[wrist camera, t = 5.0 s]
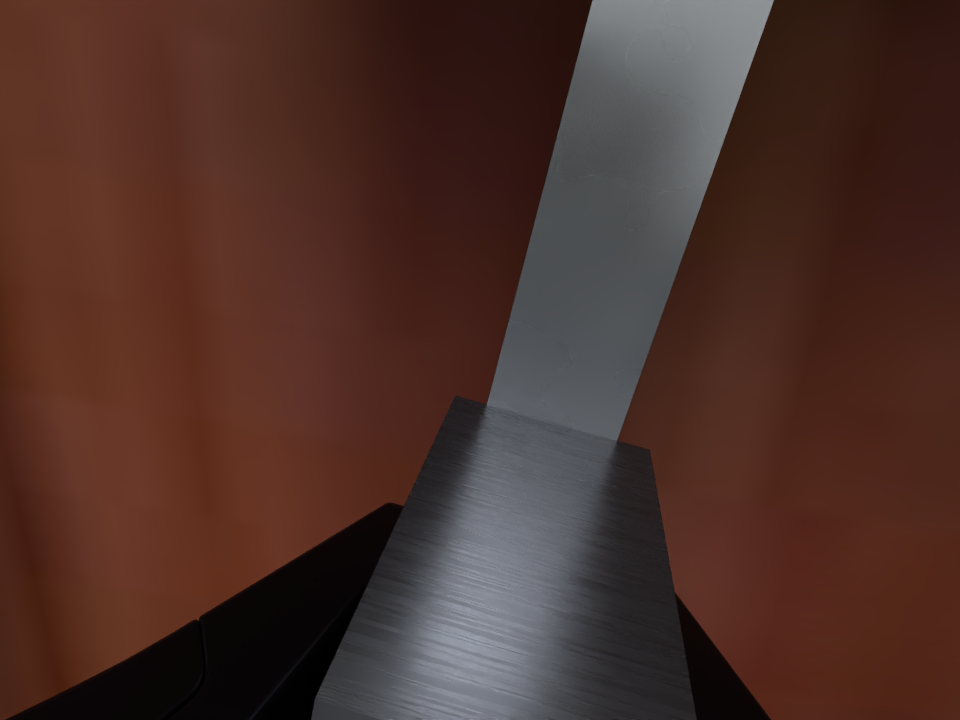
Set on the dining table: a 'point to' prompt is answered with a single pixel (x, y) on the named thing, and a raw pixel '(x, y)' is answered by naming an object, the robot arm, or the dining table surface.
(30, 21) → the dining table surface
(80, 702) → the robot arm
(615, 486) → the grey l-shaped block
